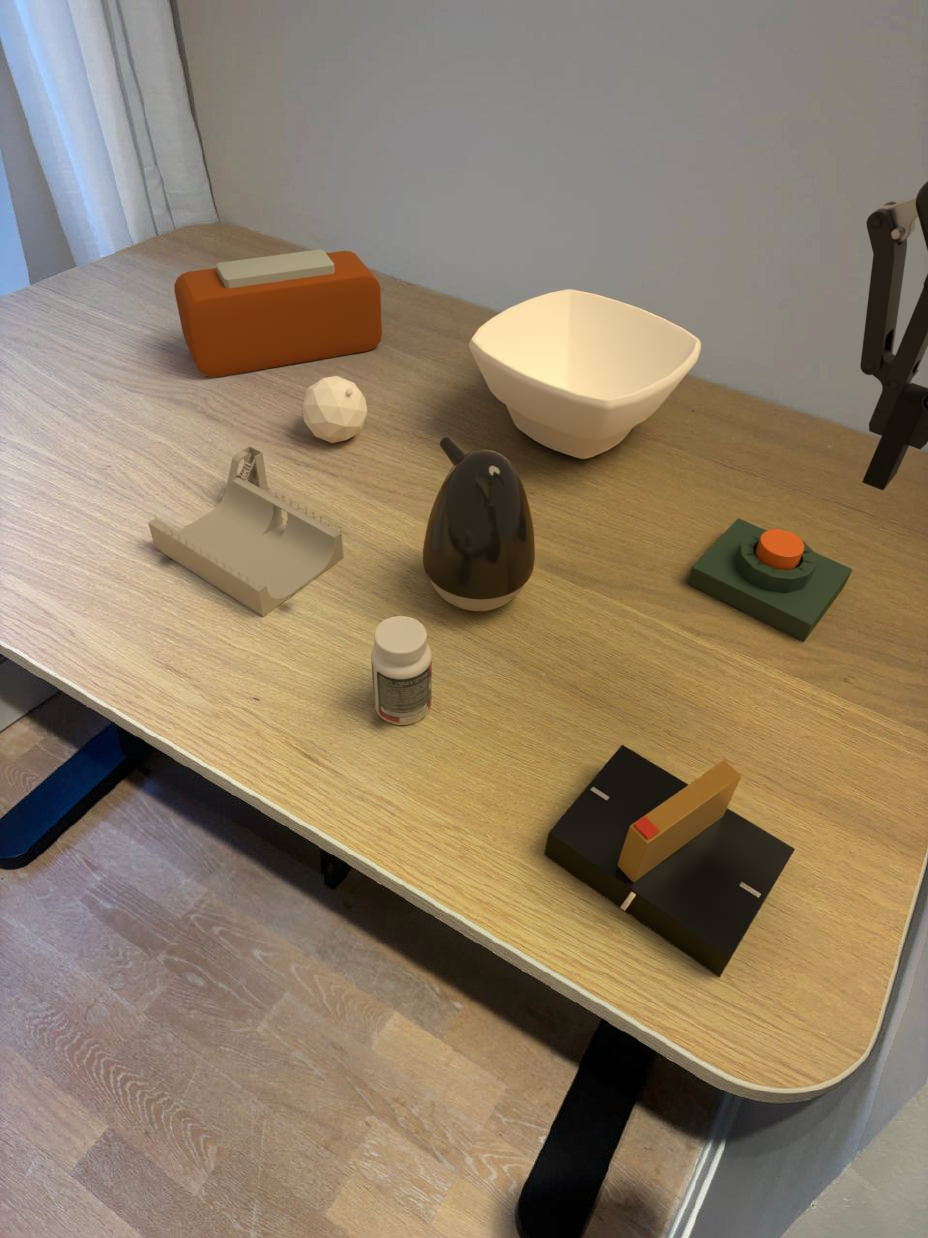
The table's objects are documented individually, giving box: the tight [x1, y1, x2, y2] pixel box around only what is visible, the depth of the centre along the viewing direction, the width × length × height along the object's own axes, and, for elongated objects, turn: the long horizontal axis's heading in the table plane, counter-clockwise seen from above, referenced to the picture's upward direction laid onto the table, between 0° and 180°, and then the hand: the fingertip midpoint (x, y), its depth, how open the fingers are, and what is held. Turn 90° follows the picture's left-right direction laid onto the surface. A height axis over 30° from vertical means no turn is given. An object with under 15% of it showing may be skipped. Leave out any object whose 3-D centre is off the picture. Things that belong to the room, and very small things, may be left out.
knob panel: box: [543, 744, 796, 978], centre depth 62 cm, size 14×13×3 cm
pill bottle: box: [370, 615, 433, 726], centre depth 69 cm, size 5×5×8 cm
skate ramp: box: [147, 445, 344, 617], centre depth 84 cm, size 15×13×5 cm
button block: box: [686, 517, 853, 642], centre depth 83 cm, size 12×10×4 cm
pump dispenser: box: [422, 436, 536, 612], centre depth 77 cm, size 10×10×15 cm
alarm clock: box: [173, 248, 383, 378], centre depth 110 cm, size 24×8×11 cm, turn 114°
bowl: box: [468, 288, 702, 460], centre depth 98 cm, size 22×22×12 cm
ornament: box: [301, 375, 368, 444], centre depth 97 cm, size 7×7×8 cm
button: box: [756, 528, 804, 570], centre depth 81 cm, size 4×4×2 cm
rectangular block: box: [618, 760, 742, 882], centre depth 59 cm, size 9×2×5 cm, turn 126°
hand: (879, 477), depth 61 cm, fingers closed
